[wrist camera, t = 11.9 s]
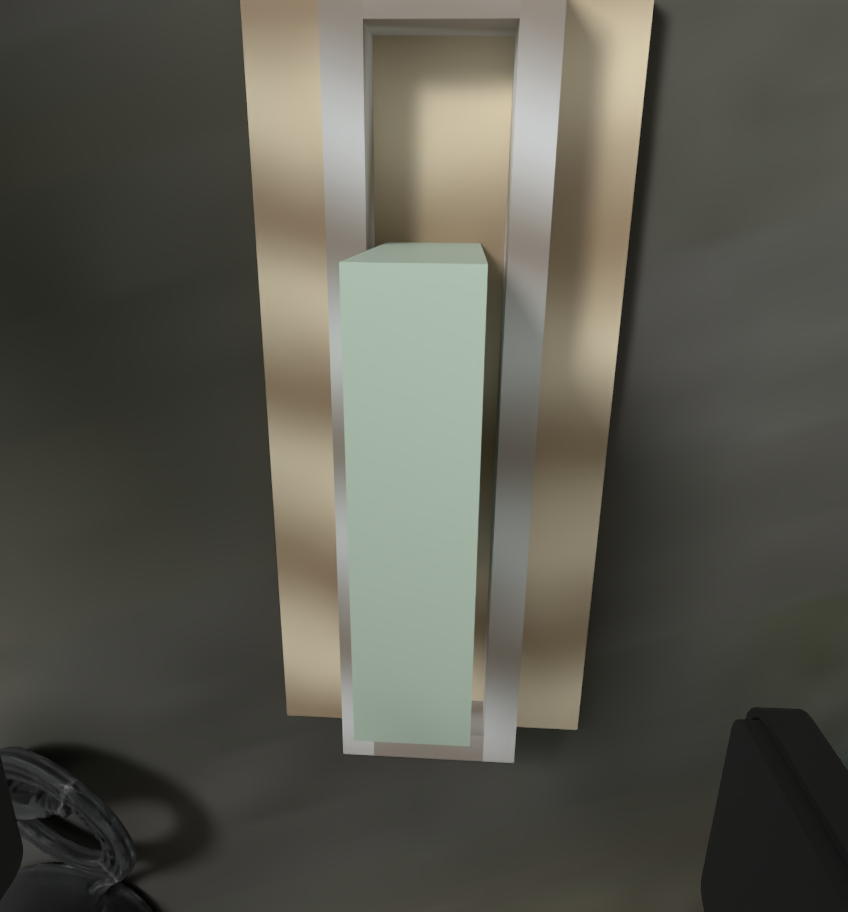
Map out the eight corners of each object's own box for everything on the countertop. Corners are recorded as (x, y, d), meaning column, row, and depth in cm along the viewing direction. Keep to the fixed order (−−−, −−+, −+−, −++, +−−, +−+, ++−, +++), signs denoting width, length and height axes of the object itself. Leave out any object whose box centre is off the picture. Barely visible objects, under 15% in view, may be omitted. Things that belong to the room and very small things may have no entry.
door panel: (387, 242, 23) (338, 261, 14) (480, 243, 22) (488, 263, 14) (390, 571, 27) (354, 740, 18) (469, 574, 26) (470, 746, 18)
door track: (247, -3, 21) (216, -34, 19) (648, -5, 21) (675, -36, 18) (291, 702, 30) (274, 749, 27) (574, 716, 29) (585, 766, 27)
